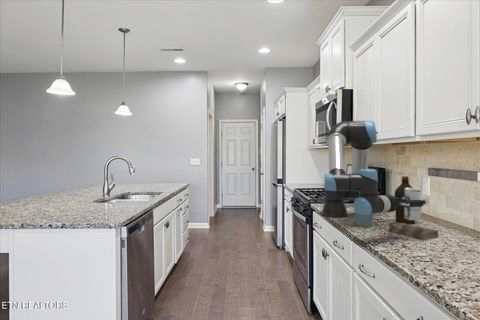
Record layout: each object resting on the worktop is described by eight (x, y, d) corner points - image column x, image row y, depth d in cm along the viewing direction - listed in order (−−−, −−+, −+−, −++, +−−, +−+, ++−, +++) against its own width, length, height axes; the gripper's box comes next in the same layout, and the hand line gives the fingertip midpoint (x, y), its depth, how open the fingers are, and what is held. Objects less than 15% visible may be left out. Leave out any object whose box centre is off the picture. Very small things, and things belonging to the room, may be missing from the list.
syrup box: (403, 217, 158) (403, 187, 158) (417, 218, 158) (417, 187, 157) (407, 220, 153) (407, 188, 153) (421, 220, 152) (421, 188, 152)
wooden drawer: (388, 231, 161) (388, 221, 161) (403, 229, 166) (403, 219, 166) (422, 240, 145) (422, 229, 145) (438, 237, 149) (438, 226, 149)
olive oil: (413, 225, 173) (413, 177, 173) (391, 222, 180) (391, 176, 180) (418, 222, 181) (418, 176, 181) (398, 219, 188) (398, 175, 188)
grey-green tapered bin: (356, 222, 182) (356, 200, 182) (376, 224, 177) (376, 202, 176) (352, 226, 173) (352, 203, 173) (372, 228, 168) (372, 204, 168)
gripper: (367, 209, 157) (401, 205, 166) (404, 216, 138) (440, 211, 148) (367, 193, 157) (401, 190, 166) (404, 198, 138) (440, 194, 148)
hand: (419, 200), depth 157 cm, fingers closed on syrup box, 7 cm apart
